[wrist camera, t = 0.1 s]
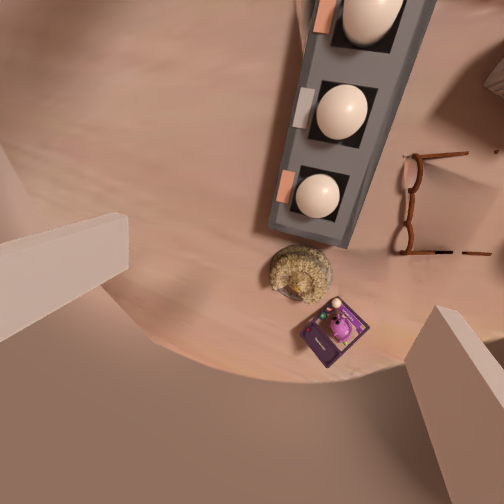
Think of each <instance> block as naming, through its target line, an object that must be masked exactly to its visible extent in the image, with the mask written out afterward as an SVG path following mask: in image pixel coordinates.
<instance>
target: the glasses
mask: <svg viewBox="0 0 504 504" xmlns="http://www.w3.org/2000/svg"><path fill="white" fill-rule="evenodd" d="M498 151H499V150H495V151H494V154H497V153H498ZM468 153H469V151H468V152H454V153H441V154H428V155H419V154H413V156H412V158H413V159H415V160H416V162H417V167H418V172H417V179H416V182H415V184H414V186H413V187H412V188H408V193H409V194H410V201H409V209H408V216H407V220H406V221H404V225H405V226H406V227H407V230H408V235H409V241H408V246H407V249H406V250H405V251H404V250H401V252H400V254H401V255H429V254H453V251H411V250H412V247H413V241H414V234H413V228H412V224H411V223H410V222H411V220H412V217H413V210H414V203H415V195H414V193H416V192H417V190H418V188H419V186H420V184H421V181H422V176H423V161H422V158H432V157H445V156H458V155H468ZM462 254H467V255H483V256H491V254H492V253H482V252H462Z"/></svg>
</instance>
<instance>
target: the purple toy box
mask: <svg viewBox="0 0 504 504" xmlns="http://www.w3.org/2000/svg"><path fill="white" fill-rule="evenodd" d="M341 303H342V304H343V305H344V306H345V307H346V308H347V309H348V310H347V309H346V308H345V307H344V306H343V305H342V304H341ZM331 305H332V306H331ZM333 307H334V308H338V309H339V310H340V311H341V312H342V314H344V315H345V316H346V317H347V318H348V319H349V320H350V322H351V323H352V324H353V325H354V326H355V327H356V330H357V332H358V334H359V335H358V336H357V337H356V338H355V339H354V340H353V341H352V342H351V343H350V344H349V345H348V346H347V347H346V348H345V349H344V350H343V351H342V352H341V351H340V350H339V349H338V348H337V347H336V345H335V344H334V343H333V342H332V341H331V340H330V338H329V337H328V336H327V335H326V334H325V333H324V332H323V330H322V329H321V328H320V327H319V326H318V325H317V323H316V322H315V321H316V320H317V319H318V318H320V320H323V321H325V320H326V319H327V318H328V316H327V314H330V315H331V313H332V312H333V311H334V310H333ZM351 313H352V314H353V315H354V316H355V317H356V318H357V319H358V320H359V321H360V322H361V323H362V324H363V325H364V326H365V327H366V328H365V329H364V330H363V331H362V329H361V328H360V326H361V323H360V322H359V321H358V320H357V319H356V318H355V317H354V316H353V315H352V314H351ZM342 314H340V315H339V314H338V317H334V318H333V320H332V321H331V325H330V326H329V328H331V329H332V331H333V333H334V334H333V335H334V336H335V337H336V338H337V339H338V340H339V341H338V343H340V342H343V344H344V345H347V344H346V343H347V342H346V341H348V340H349V339H350V337H351V335H352V326H351V323H350V322H349V321H348V320H347V318H343V317H341V316H342ZM369 328H370V327H369V325H368V324H367V323H365V322H364V321H363V320H362V319H361V318H360V317H359V316H358V315H357V314H356V313H355V312H354V311H353V310H352V309H351V308H350V307H349V306H348V305H347V304H346V303H345V302H344V301H343V300H342V299H341V298H340V297H339V296H337V297H335V298H333V299H332V300H331V301H330V302H329V303H328V304H327V305H326V306H325V307H324V308H323V309H322V310H321V311H320V312H319V313H318V314H317V315H316V317H315V318H314V319H313V320H312V321H311V322H310V323H309V324H308V325H307V326H306V327H305V328H304V329H303V330H302V331H301V332H300V335H301V337H302V338H303V339H304V341H305V342H306V343H307V344H308V346H309V347H310V348H311V349H312V351H313V352H314V353H315V355H316V356H317V357H318V358H319V360H320V361H321V362H322V363H323V365H324V366H325V367H326V368H329V367H330V366H331V365H332V364H333V363H334V362H335V361H336V360H337V359H338V358H340V357H341V356H342V355H343V354H344V353H345V352H346V351H347V350H348V349H349V348H350V347H351V346H352V345H353V344H354V343H355V342H356V341H357V340H358V339H359V338H360V337H361V336H362V335H363V334H364V333H365V332H366V331H368V330H369ZM360 332H361V333H360Z"/></svg>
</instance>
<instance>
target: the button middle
mask: <svg viewBox="0 0 504 504" xmlns="http://www.w3.org/2000/svg"><path fill="white" fill-rule="evenodd" d="M366 114H367V101H366V98H365V96H364V94H363V93H362V91H361V90H359V89H358V88H357V87H355V86H352V85H339V86H336V87H334V88H332V89H331V90H329V91H328V92H327V93H326V94H325V95H324V96H323V98H322V99H321V101H320V103H319V105H318V108H317V123H318V126H319V128H320V129H321V131H322V132H323V134H324V135H326V136H327V137H329V138H331V139H335V140H341V139H345V138H348V137H349V136H351V135H352V134H354V133H355V132H356V131H357V130H358V129H359V128H360V127H361V125H362V124H363V122H364V120H365V118H366Z"/></svg>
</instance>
